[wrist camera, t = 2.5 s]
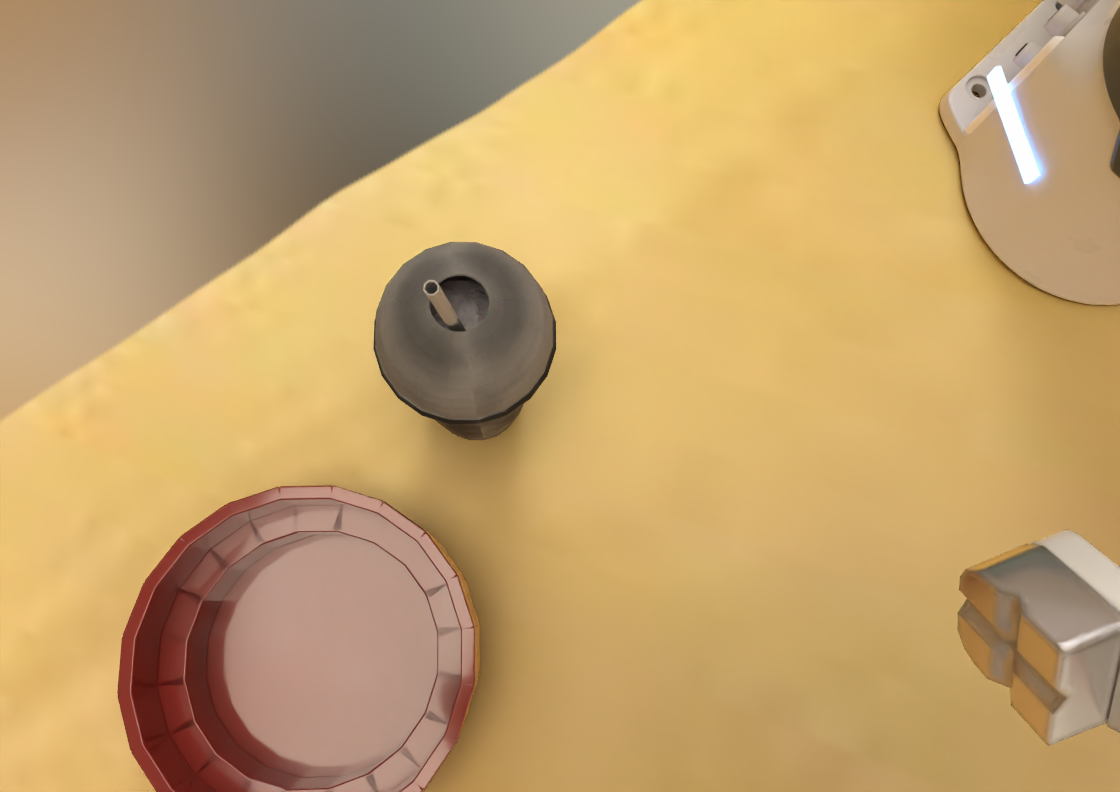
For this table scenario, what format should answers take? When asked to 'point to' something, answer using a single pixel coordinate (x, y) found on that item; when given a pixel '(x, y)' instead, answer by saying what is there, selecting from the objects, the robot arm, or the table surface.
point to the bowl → (299, 650)
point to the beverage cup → (465, 337)
